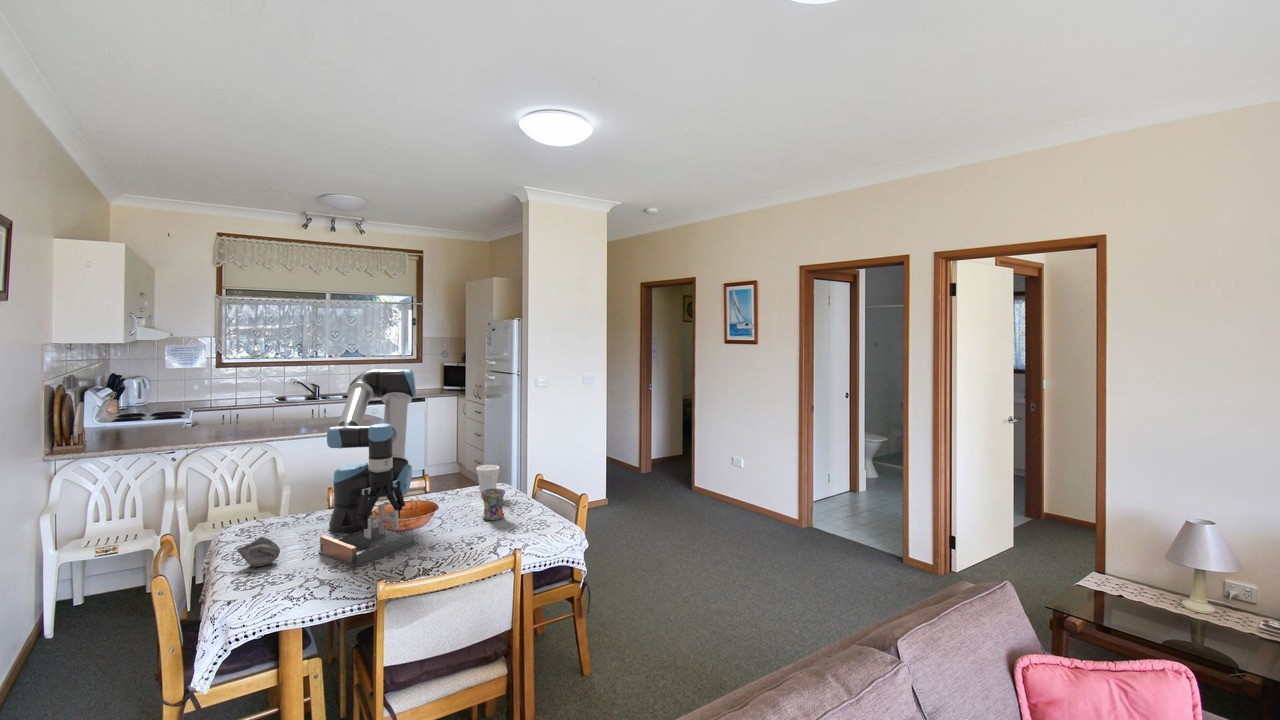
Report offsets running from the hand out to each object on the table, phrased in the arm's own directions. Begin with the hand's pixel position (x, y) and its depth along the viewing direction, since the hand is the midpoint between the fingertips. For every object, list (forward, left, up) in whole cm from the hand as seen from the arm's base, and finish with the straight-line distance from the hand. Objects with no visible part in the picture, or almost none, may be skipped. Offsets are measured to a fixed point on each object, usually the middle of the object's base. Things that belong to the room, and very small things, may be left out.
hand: (381, 532), depth 203 cm
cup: (-11, +60, -4) cm, 61 cm away
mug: (+10, +42, -5) cm, 43 cm away
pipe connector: (0, 0, 0) cm, 0 cm away
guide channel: (0, -4, -4) cm, 6 cm away
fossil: (-17, -31, -5) cm, 36 cm away
